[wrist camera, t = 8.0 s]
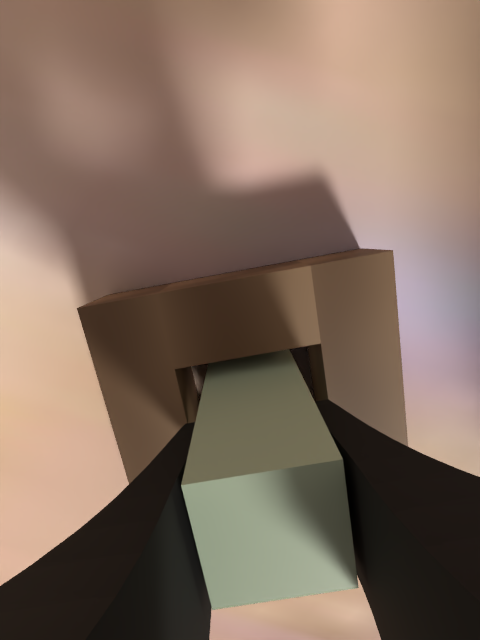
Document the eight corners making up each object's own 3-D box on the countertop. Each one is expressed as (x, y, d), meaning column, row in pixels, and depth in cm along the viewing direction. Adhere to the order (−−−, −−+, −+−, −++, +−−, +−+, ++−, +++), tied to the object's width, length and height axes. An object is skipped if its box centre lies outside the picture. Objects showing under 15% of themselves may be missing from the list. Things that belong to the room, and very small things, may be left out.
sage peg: (288, 348, 12) (343, 459, 6) (299, 422, 12) (358, 588, 6) (208, 362, 12) (181, 485, 6) (223, 434, 12) (212, 610, 6)
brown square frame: (360, 248, 12) (392, 250, 9) (382, 470, 14) (413, 519, 11) (108, 294, 12) (76, 308, 10) (166, 505, 14) (152, 560, 12)
